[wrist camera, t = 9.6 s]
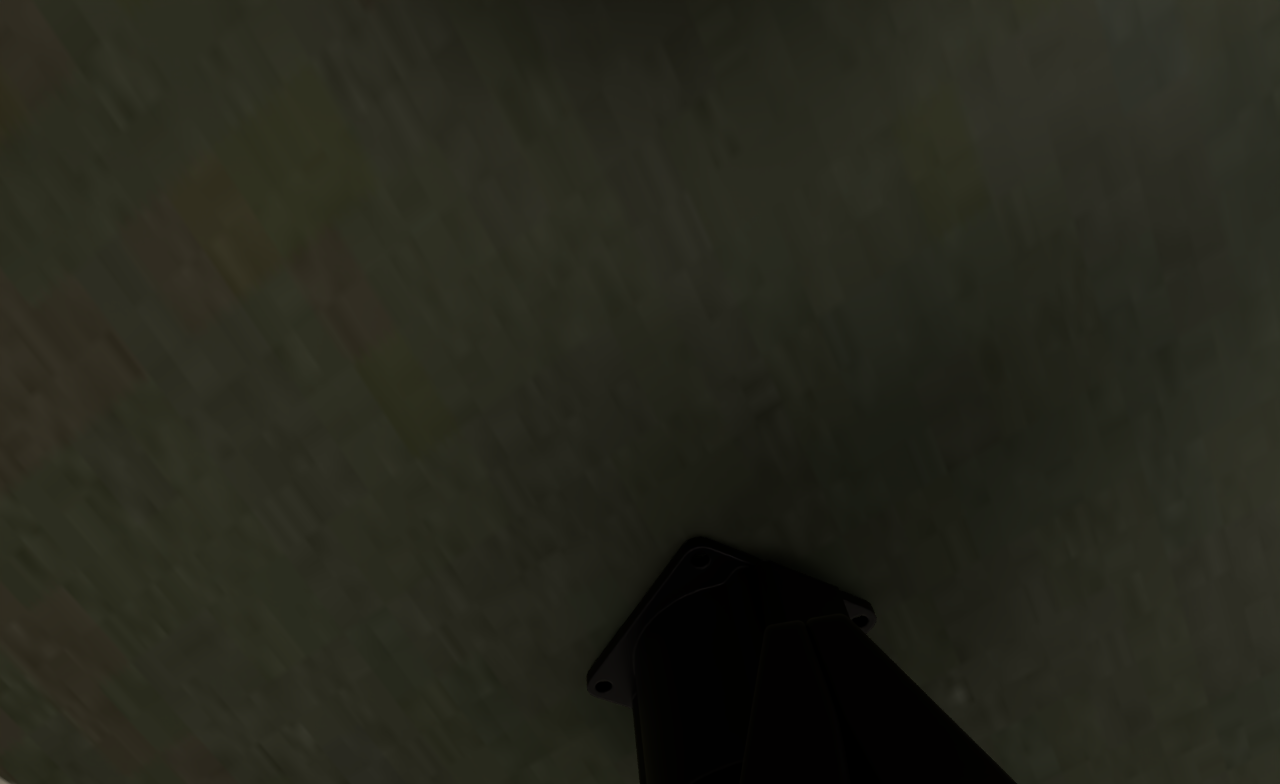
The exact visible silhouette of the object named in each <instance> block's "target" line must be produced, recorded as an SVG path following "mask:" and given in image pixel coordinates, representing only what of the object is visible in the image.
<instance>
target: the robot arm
mask: <svg viewBox="0 0 1280 784" xmlns="http://www.w3.org/2000/svg"><path fill="white" fill-rule="evenodd" d="M697 554H706V555H704V556H703V557H700V558H695V557H694V556H695V555H697ZM860 615H861V616H860ZM856 616H860V617H857V618H855V617H856ZM876 618H877V617H876V615H875V612H874V610H873V608H872V606H871V604H870V603H869V602H868V601H866V600H863V599H861V598H858V597H856V596H853V595H851V594H848V593H846V592H843V591H841V590H839V588H838V587H836V586H833V585H831V584H828V583H826V582H823V581H821V580H818V579H816V578H813V577H811V576H808V575H806V574H803V573H800V572H798V571H795V570H793V569H790V568H788V567H785V566H783V565H780V564H778V563H775V562H773V561H766V560H762V559H759V558H757V557H754V556H752V555H749V554H747V553H744V552H741V551H739V550H736V549H734V548H731V547H729V546H726V545H724V544H721V543H719V542H716V541H713V540H711V539H708V538H704V537H697V538H693V539H690V540H688V541H687V542H686V543H685V544H684V545H683V546H682V547H681V548H680V550H679V551H678V552H677V554H676V555H675V556H674V558H673V559H672V560H671V562H670V563H669V564H668V566H667V567H666V568H665V570H664V571H663V572H662V574H661V575H660V576H659V578H658V579H657V580H656V582H655V583H654V584H653V586H652V587H651V588H650V590H649V591H648V592H647V594H646V595H645V596H644V598H643V599H642V600H641V602H640V603H639V605H638V606H637V607H636V609H635V610H634V611H633V613H632V614H631V615H630V617H629V618H628V619H627V621H626V622H625V623H624V625H623V626H622V627H621V629H620V630H619V631H618V633H617V634H616V635H615V637H614V638H613V639H612V641H611V642H610V643H609V645H608V646H607V647H606V649H605V650H604V651H603V653H602V654H601V655H600V657H599V658H598V659H597V661H596V662H595V663H594V665H593V666H592V667H591V669H590V670H589V671H588V674H587V690H588V692H589V693H590V694H591V695H593V696H594V697H597V698H600V699H603V700H606V701H610V702H613V703H616V704H619V705H622V706H626V707H629V708H632V709H633V718H634V728H635V738H636V749H637V759H638V769H639V780H640V784H1017V783H1016V782H1015V781H1014V780H1013V779H1012V778H1011V777H1010V776H1009V775H1008V774H1007V773H1006V772H1005V771H1004V770H1003V769H1002V768H1001V767H1000V766H999V765H998V764H997V763H996V762H995V761H994V760H993V759H992V758H991V757H990V756H989V755H988V754H987V753H986V752H985V751H984V750H983V749H981V748H980V747H979V746H978V745H977V744H976V743H975V742H974V741H973V740H972V739H971V738H970V737H969V736H968V735H967V734H966V733H965V732H964V731H963V730H962V729H961V728H960V727H959V726H958V725H957V724H956V723H955V722H954V721H953V720H952V719H951V718H950V717H949V716H948V715H947V714H946V713H945V712H944V711H943V710H942V709H941V708H940V707H939V706H938V705H937V704H936V703H935V702H934V701H933V700H932V699H931V698H930V697H929V696H928V695H927V694H926V693H925V692H924V691H923V690H922V689H921V688H920V687H919V686H918V685H917V684H916V683H915V682H914V681H913V680H912V679H911V678H910V677H909V676H908V675H907V674H906V673H905V672H904V671H903V670H902V669H901V668H900V667H899V666H898V665H897V664H896V663H895V662H894V661H892V660H891V659H890V658H889V657H888V656H887V655H886V654H885V653H884V652H883V651H882V650H881V649H880V648H879V647H878V646H877V645H876V644H875V643H874V642H873V641H872V640H871V639H870V638H869V637H868V636H867V635H866V634H867V633H868V632H869V631H870V630H871V629H872V628H873V626H874V625H875V623H876ZM601 681H606V682H601Z"/></svg>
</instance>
